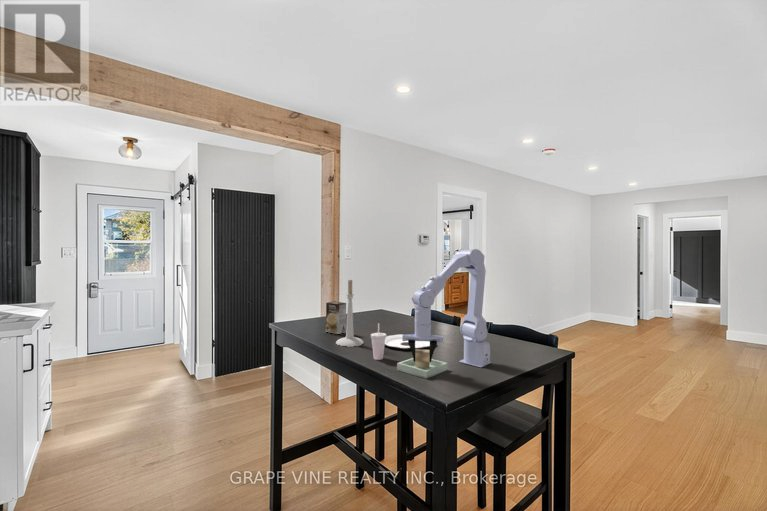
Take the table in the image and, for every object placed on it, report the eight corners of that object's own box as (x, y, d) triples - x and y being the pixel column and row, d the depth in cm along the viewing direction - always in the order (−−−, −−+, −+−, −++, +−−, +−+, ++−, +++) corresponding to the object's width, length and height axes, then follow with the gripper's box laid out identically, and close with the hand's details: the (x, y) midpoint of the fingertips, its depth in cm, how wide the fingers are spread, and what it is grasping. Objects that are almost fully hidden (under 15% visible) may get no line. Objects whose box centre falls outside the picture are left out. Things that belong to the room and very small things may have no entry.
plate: (441, 342, 170) (441, 338, 170) (422, 355, 148) (422, 350, 148) (394, 335, 182) (395, 332, 182) (370, 347, 160) (370, 343, 160)
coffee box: (325, 333, 186) (325, 302, 186) (333, 330, 191) (333, 301, 191) (338, 335, 181) (338, 304, 181) (346, 333, 186) (346, 302, 186)
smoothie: (386, 356, 145) (386, 322, 145) (386, 360, 139) (386, 325, 138) (370, 356, 145) (370, 322, 145) (370, 360, 138) (370, 325, 138)
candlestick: (331, 342, 167) (331, 278, 167) (355, 338, 174) (355, 277, 174) (343, 348, 156) (344, 280, 156) (368, 344, 163) (369, 279, 163)
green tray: (447, 369, 128) (447, 362, 128) (426, 378, 119) (426, 371, 119) (418, 362, 137) (418, 355, 137) (396, 370, 128) (397, 363, 128)
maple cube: (429, 363, 131) (429, 349, 130) (429, 367, 126) (429, 353, 126) (415, 362, 131) (415, 349, 131) (415, 367, 126) (415, 353, 126)
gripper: (442, 322, 131) (441, 358, 131) (403, 320, 133) (402, 357, 133) (443, 325, 124) (443, 364, 124) (402, 324, 126) (401, 362, 126)
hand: (422, 361), depth 128 cm, fingers closed on maple cube, 5 cm apart
